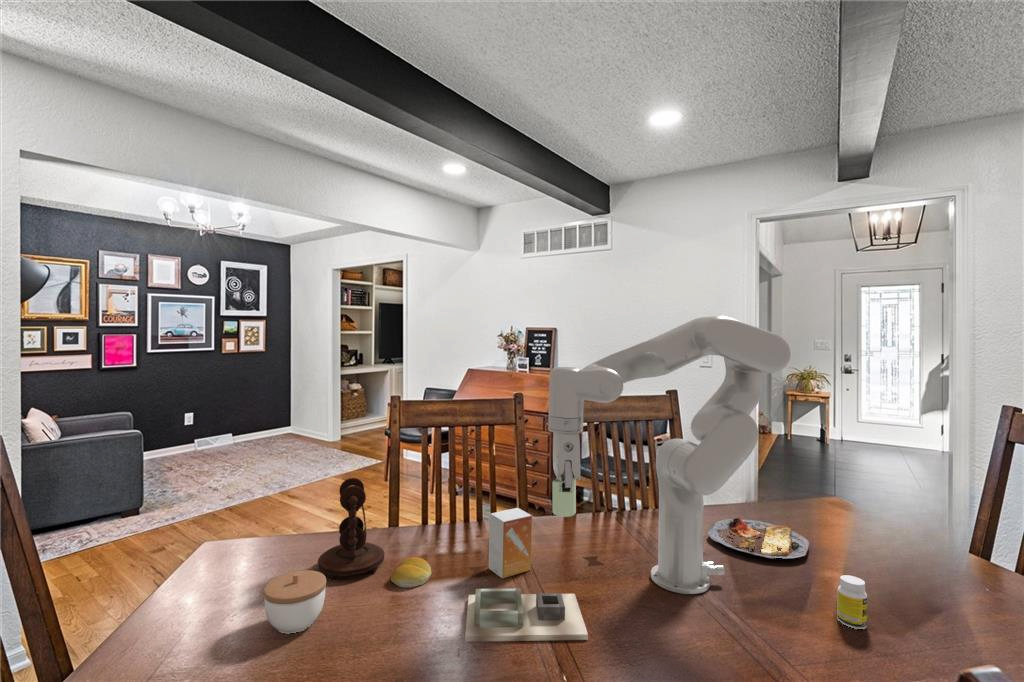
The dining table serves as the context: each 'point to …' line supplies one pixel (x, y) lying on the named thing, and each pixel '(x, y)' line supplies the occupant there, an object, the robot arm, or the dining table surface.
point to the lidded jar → (294, 600)
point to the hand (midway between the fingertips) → (563, 507)
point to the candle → (563, 499)
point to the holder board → (523, 616)
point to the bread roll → (411, 573)
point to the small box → (510, 542)
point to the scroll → (351, 538)
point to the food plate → (773, 537)
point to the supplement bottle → (852, 602)
